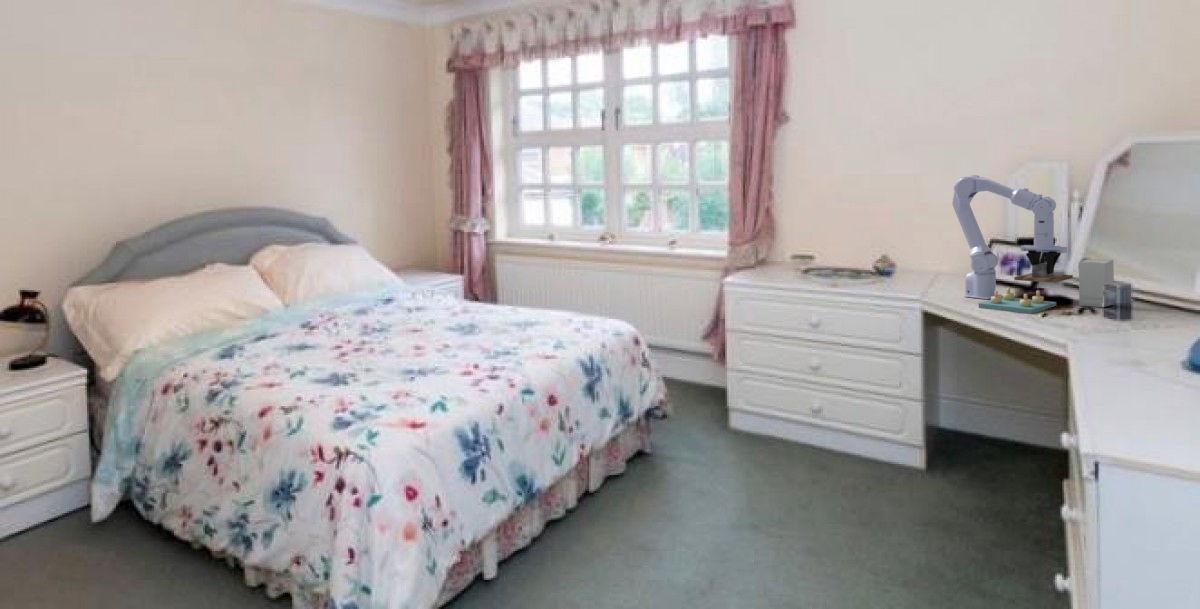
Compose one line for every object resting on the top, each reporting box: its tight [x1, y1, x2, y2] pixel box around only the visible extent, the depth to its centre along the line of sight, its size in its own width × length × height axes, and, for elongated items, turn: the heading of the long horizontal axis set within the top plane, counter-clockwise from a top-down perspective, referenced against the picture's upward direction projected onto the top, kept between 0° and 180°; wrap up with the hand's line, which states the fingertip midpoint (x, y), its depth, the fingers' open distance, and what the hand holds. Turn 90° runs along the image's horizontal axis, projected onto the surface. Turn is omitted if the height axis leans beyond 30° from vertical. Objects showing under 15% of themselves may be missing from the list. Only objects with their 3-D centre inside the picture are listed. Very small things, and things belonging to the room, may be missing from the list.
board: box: [1014, 262, 1073, 283], centre depth 253 cm, size 14×10×5 cm
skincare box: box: [1078, 258, 1115, 308], centre depth 239 cm, size 8×6×15 cm
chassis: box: [978, 287, 1057, 315], centre depth 247 cm, size 18×14×6 cm
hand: (1043, 273), depth 253 cm, fingers closed on board, 4 cm apart
